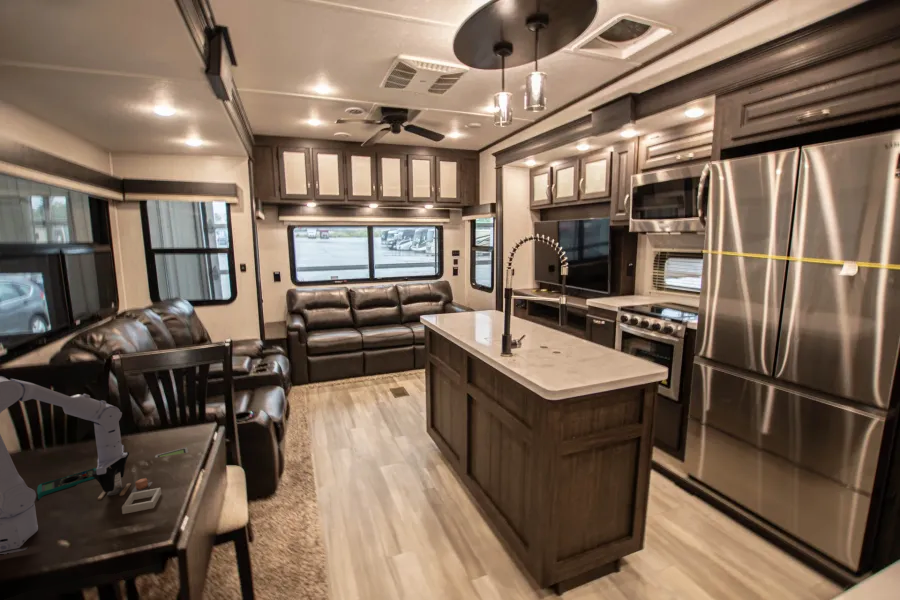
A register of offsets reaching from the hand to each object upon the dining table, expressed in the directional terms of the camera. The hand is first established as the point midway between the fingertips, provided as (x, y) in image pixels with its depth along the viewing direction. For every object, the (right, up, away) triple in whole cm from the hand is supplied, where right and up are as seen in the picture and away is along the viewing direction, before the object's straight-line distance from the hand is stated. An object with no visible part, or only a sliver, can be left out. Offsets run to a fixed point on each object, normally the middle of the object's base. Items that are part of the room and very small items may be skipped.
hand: (114, 484), depth 125 cm
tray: (+13, -5, -5) cm, 15 cm away
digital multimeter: (-19, -4, +6) cm, 21 cm away
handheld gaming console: (+4, -2, +21) cm, 22 cm away
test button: (+6, -2, +3) cm, 7 cm away
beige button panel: (+3, -4, +2) cm, 5 cm away
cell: (0, -3, 0) cm, 3 cm away
